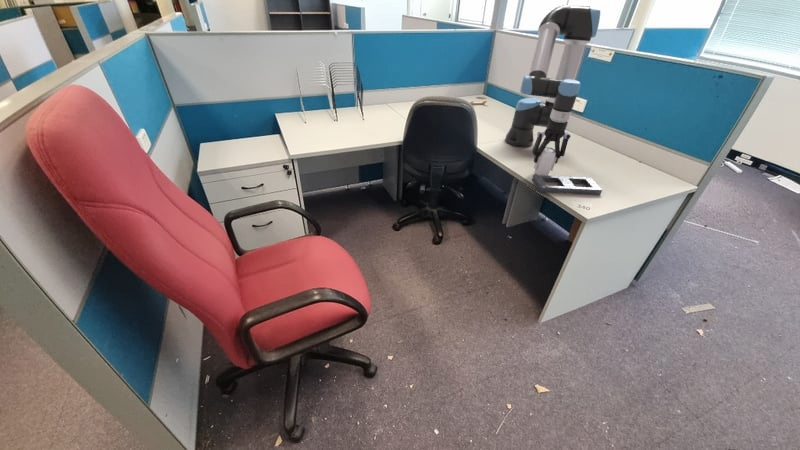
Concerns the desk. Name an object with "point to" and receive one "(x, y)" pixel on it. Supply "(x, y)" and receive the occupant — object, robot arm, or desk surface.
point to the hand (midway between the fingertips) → (542, 168)
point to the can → (546, 161)
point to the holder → (566, 185)
